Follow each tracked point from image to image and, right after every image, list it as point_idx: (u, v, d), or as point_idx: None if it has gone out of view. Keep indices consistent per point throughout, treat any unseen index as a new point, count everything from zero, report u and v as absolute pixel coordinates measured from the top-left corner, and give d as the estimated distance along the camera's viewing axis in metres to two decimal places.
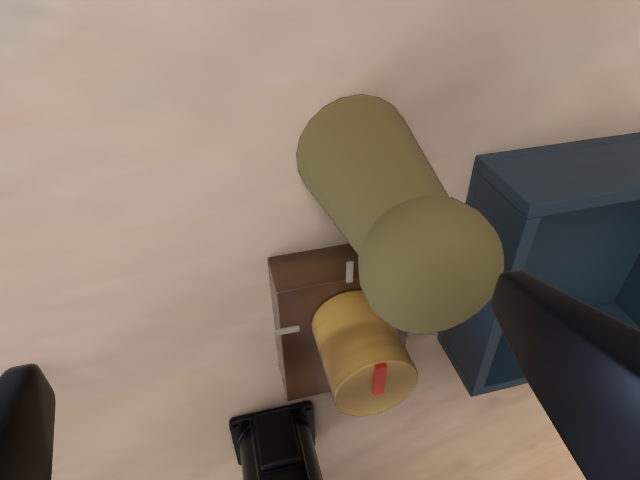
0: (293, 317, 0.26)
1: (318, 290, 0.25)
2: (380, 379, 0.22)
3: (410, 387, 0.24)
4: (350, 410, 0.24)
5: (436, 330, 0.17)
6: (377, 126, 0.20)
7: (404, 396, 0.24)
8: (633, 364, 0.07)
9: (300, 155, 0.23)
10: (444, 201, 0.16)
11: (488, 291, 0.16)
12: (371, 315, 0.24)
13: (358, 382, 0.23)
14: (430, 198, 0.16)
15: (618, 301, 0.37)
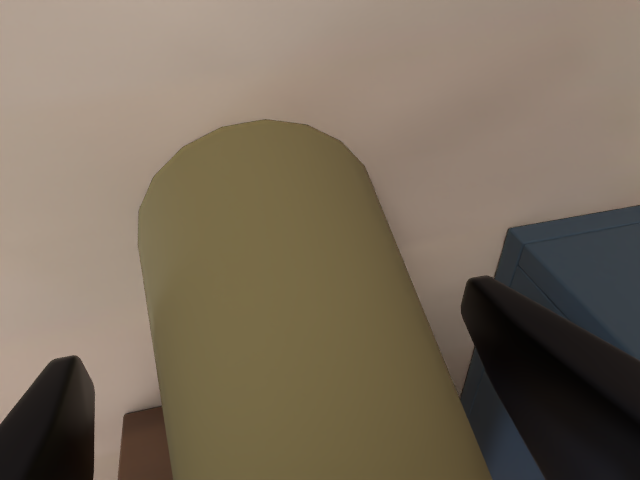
0: None
1: None
2: None
3: None
4: None
5: None
6: (284, 203, 0.08)
7: None
8: (591, 374, 0.07)
9: (139, 250, 0.11)
10: None
11: None
12: None
13: None
14: None
15: None
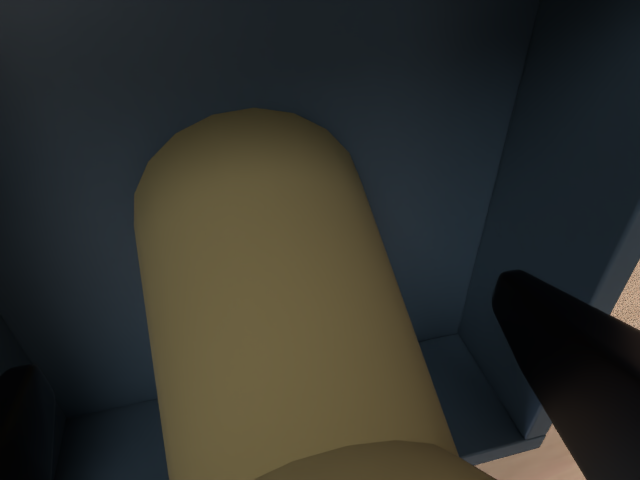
0: None
1: None
2: None
3: None
4: None
5: None
6: (268, 185, 0.09)
7: None
8: (633, 364, 0.07)
9: (135, 231, 0.11)
10: None
11: None
12: None
13: None
14: None
15: (462, 331, 0.17)
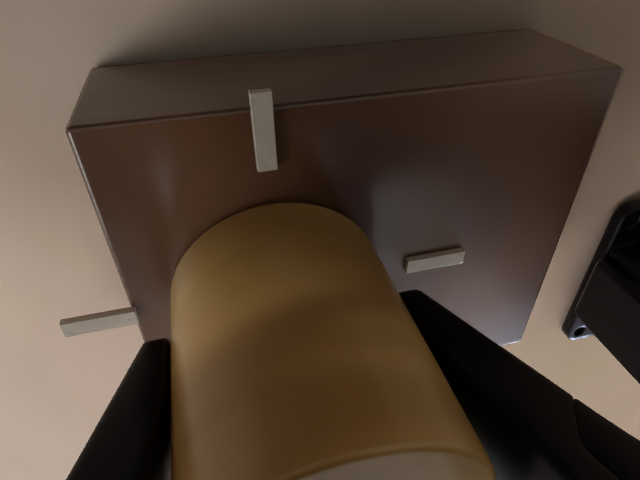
0: None
1: None
2: None
3: (388, 465, 0.05)
4: None
5: None
6: None
7: (443, 461, 0.05)
8: (498, 397, 0.07)
9: None
10: None
11: None
12: (171, 366, 0.08)
13: None
14: None
15: None
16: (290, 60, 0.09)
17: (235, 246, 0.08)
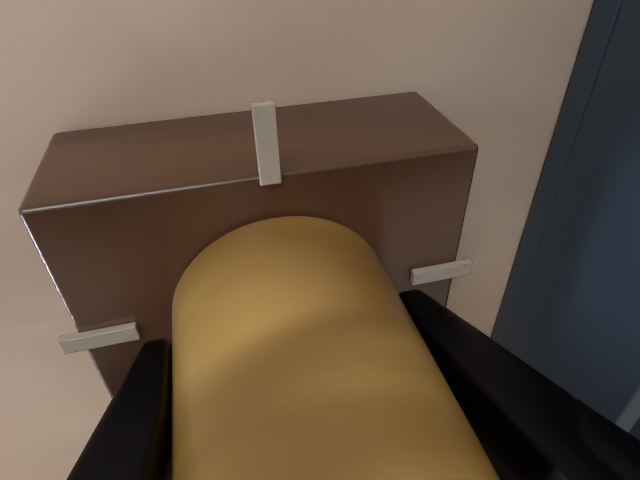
0: (111, 297, 0.09)
1: (173, 212, 0.08)
2: None
3: None
4: None
5: None
6: None
7: None
8: (500, 397, 0.07)
9: None
10: None
11: None
12: (173, 387, 0.07)
13: None
14: None
15: None
16: None
17: (236, 262, 0.08)
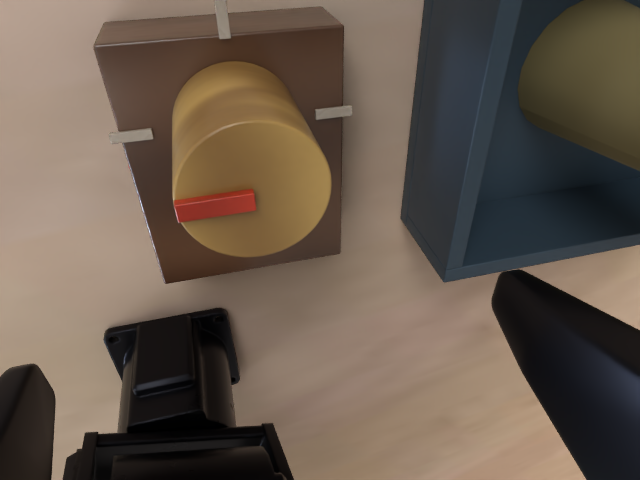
0: (138, 108, 0.16)
1: (172, 53, 0.15)
2: (209, 210, 0.12)
3: (265, 132, 0.12)
4: (301, 228, 0.14)
5: None
6: None
7: (292, 138, 0.12)
8: (633, 364, 0.07)
9: (531, 66, 0.20)
10: None
11: None
12: (172, 139, 0.14)
13: (224, 231, 0.13)
14: None
15: None
16: None
17: (205, 77, 0.15)
